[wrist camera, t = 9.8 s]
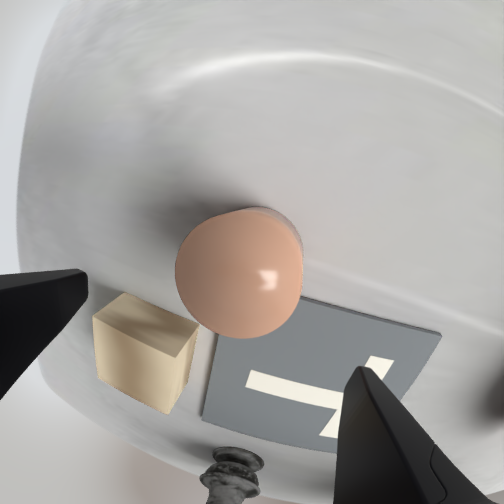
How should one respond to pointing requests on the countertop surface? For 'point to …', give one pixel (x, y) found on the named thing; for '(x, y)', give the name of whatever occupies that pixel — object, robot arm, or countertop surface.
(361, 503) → the robot arm
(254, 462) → the salt shaker
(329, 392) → the letter mat
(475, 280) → the countertop surface
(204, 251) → the terracotta cylinder
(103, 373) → the maple block
